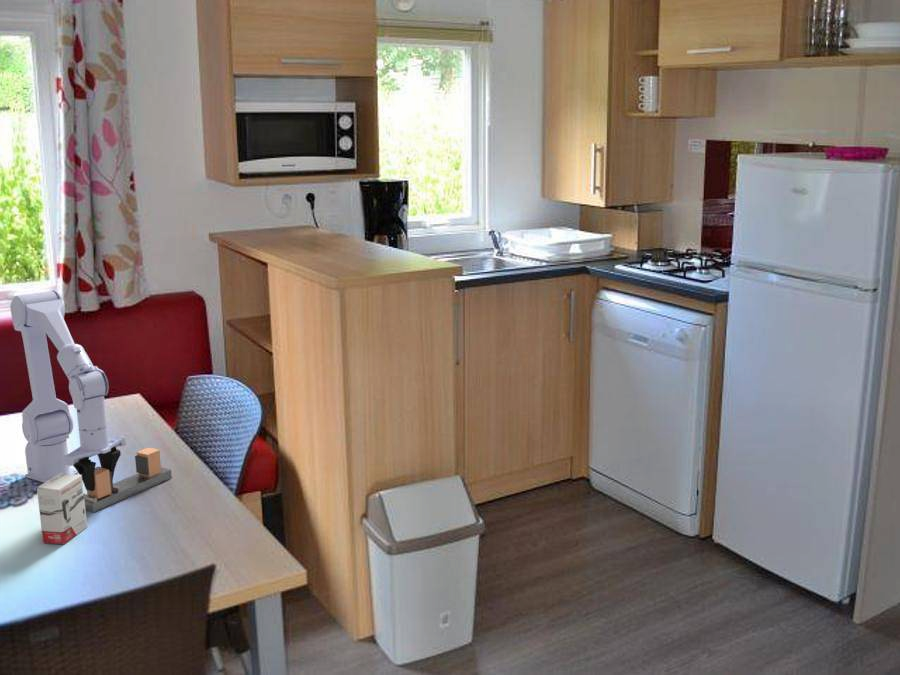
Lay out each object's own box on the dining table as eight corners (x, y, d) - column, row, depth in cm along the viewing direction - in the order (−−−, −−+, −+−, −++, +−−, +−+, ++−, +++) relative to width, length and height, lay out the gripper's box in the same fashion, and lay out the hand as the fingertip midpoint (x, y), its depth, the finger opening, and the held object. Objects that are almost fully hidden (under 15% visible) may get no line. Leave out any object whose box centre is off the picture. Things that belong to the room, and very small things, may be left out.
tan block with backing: (87, 495, 205) (84, 471, 203) (103, 488, 208) (100, 465, 207) (98, 498, 203) (95, 475, 201) (113, 492, 206) (111, 468, 205)
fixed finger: (136, 475, 216) (134, 452, 215) (150, 469, 219) (148, 447, 218) (147, 478, 214) (145, 455, 213) (161, 472, 218) (159, 450, 216)
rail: (78, 507, 204) (76, 494, 203) (156, 473, 222) (155, 461, 222) (93, 512, 201) (92, 499, 201) (171, 477, 220) (170, 465, 219)
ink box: (64, 545, 187) (57, 489, 184) (42, 543, 187) (35, 488, 185) (88, 526, 195) (83, 473, 192) (67, 524, 196) (61, 471, 193)
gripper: (76, 440, 194) (83, 501, 197) (132, 420, 206) (138, 478, 209) (54, 434, 197) (61, 494, 201) (110, 415, 209) (116, 472, 213)
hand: (99, 486), depth 205 cm, fingers closed on tan block with backing, 4 cm apart
